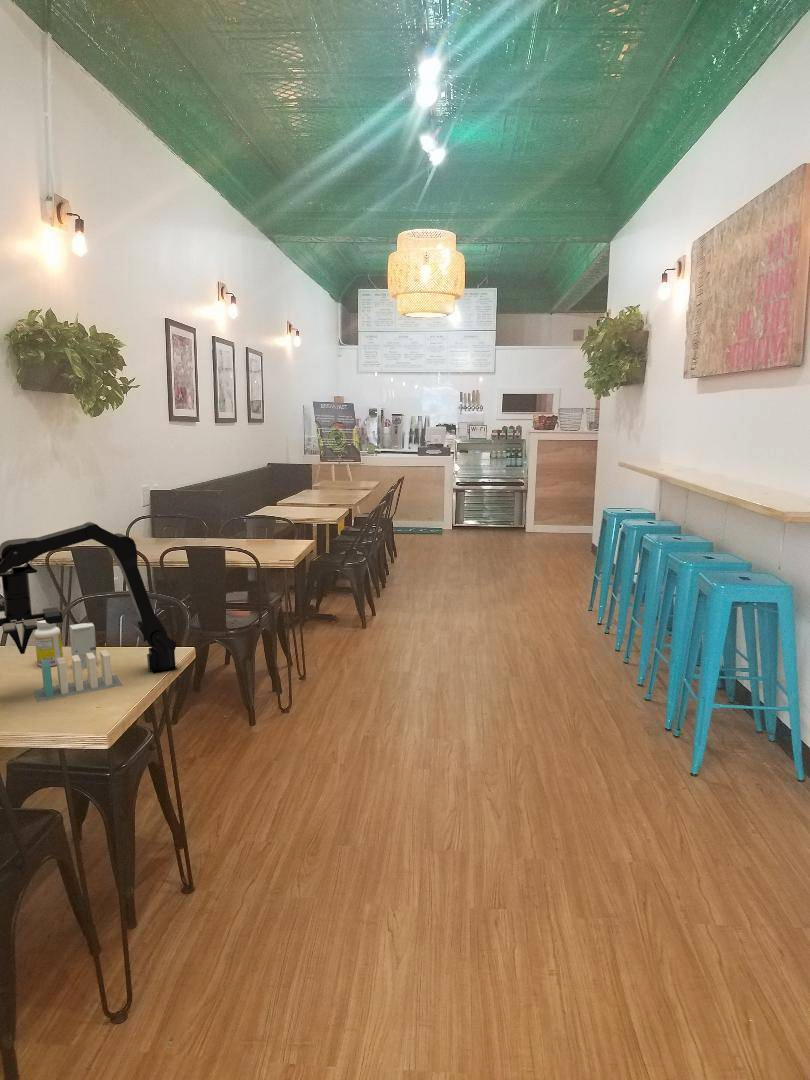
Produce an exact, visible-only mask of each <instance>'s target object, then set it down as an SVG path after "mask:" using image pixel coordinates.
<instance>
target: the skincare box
mask: <svg viewBox="0 0 810 1080" xmlns="http://www.w3.org/2000/svg"><path fill="white" fill-rule="evenodd" d="M69 637H70V638H69V639H70V650H71V651H70V653H71V656H74V655H78V656H79V658H80V660H81V668H82V670H83V669H86V668H87V661H86V653H93V654H94V656H95V658H96V667H98V662H97V660H98V658H97V643H96V627H95V624H94V623H93V622H92V621H91V622H86V623H85V622H82V623H78V624H77V623H76V624H70V625H69Z"/></svg>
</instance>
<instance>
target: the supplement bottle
mask: <svg viewBox="0 0 810 1080" xmlns="http://www.w3.org/2000/svg"><path fill="white" fill-rule="evenodd" d="M36 624H37V627H38V629H35V630H34V633H33V635H34V643H35V652H36V660H37V661H36V662H37V665H38V666H39V667H42V666H41V661H43V660H48V661H49V663H50V665H51V667H54V666H57V659H56V658H61V657H63V658H64V653H63V647H62V646H63V645H62V644H63V643H62V634H61V629H60V628H59V627H58V626H56V623H54V624H48V623H47V622H45V620H43V621H37V623H36Z"/></svg>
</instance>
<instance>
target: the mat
mask: <svg viewBox="0 0 810 1080" xmlns="http://www.w3.org/2000/svg"><path fill="white" fill-rule="evenodd" d="M97 680H98V687H97V688H92V689H91V687H90V685H89V683H88V679H86V680H83V690H81V691H76V689H75V686H74V682H70V683H68V692H69V693H66V694H61V691H60V689H59V684H58V685H52V686H53V696H50V697H46V695H45V692H44V687H43V688H42V687H41V688H36V689H33V692H34V695H35V699H36V702H37V703H38V702H40V703H41V702H44V701H49V700H54V699H55V700H56V699H60V698H65V697H69V696H75V695H79V694H80V695H81V694H86V693H92V692H96V691H102V690H106V689H112V688H117V687H121V686H123V683H122V682H121V680H120V678H119V677H118V675H117V674H113V675H112V685H108V686H106V685H105V683H104V682H103V680H102V677H97Z"/></svg>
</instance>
